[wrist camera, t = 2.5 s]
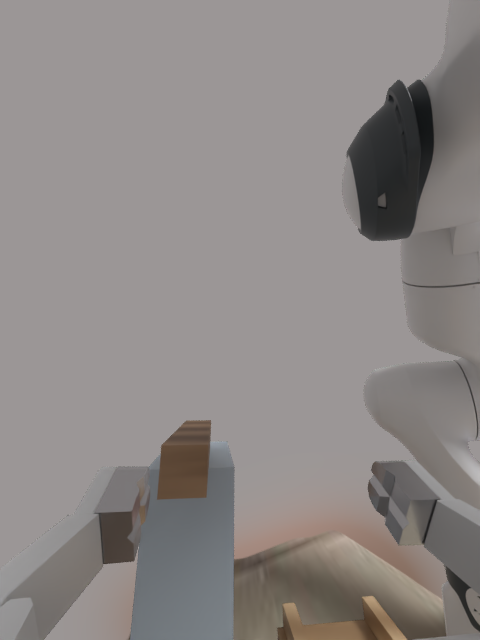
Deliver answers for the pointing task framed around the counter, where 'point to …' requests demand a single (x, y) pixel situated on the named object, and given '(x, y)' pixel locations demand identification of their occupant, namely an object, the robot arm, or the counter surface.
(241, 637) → the counter surface
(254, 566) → the counter surface
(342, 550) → the counter surface
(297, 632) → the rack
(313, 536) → the counter surface
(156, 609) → the stand
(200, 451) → the walnut bar
